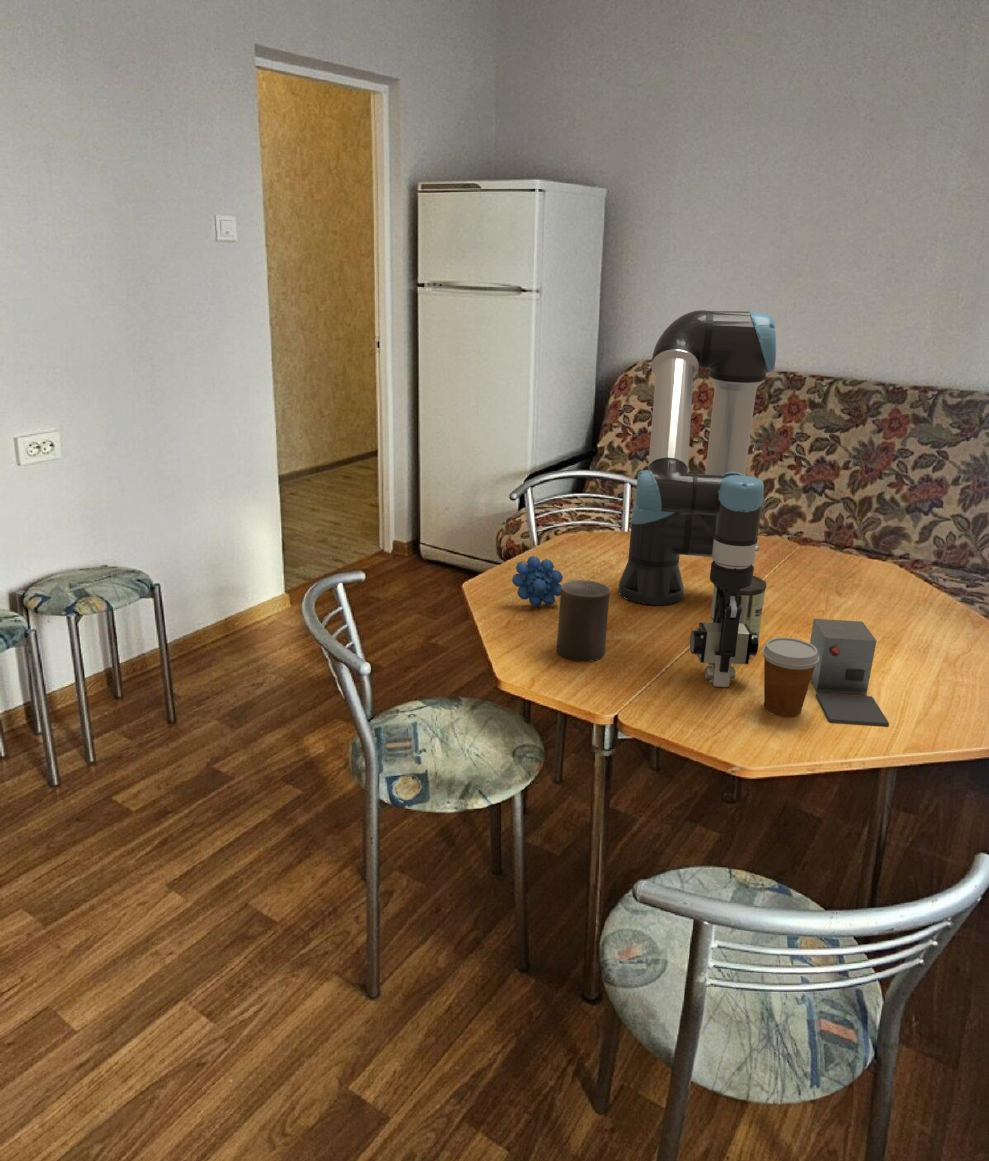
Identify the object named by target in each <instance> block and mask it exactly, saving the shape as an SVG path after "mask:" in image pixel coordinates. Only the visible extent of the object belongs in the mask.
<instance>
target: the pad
mask: <svg viewBox="0 0 989 1161" xmlns="http://www.w3.org/2000/svg"><path fill="white" fill-rule="evenodd" d="M815 697H816V699H817V701H818V703H819V706H820V707H821V709H822V711H823V713H824V715H825V718H827V721H828V723H835V724H848V725H849V724H851V725H863V726H864V725H865V726H867V725H868V726H880V727H889V725H890V722H889V721H888V719H887V717H886V716H885V714H884V713H883V711H882V710H881V708H880V707H879V705H878V703H877V702H876V700H875V699H874V697H873V696H872V695H871V696H870V695H854V694H839V693H823V692H816V693H815Z"/></svg>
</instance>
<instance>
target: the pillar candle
mask: <svg viewBox="0 0 989 1161" xmlns="http://www.w3.org/2000/svg"><path fill="white" fill-rule="evenodd" d="M610 591H611V589H610V587H609V586H607V585H606V584H603V583H600V582H598V581H592V580H584V579H581V580H576V579H575V580H570V581H566V582H564V583H562V584H561V595H560V596H559V611H558V625H557V626H558V627H557V635H556V636H557V639H556V651H557V654H559V656H561V657H562V658H565V659H567V660H571V661H574V662H575V661H576V662H581V661H586V662H592V661H591V660H594V661H596V659H598V660H600V659H602V658H603V657H604V656H605V652H606V641H607V630H608V617H609V607H610V606H609V604H610V594H611V592H610ZM603 655H604V656H603ZM602 656H603V657H602ZM601 657H602V658H601Z"/></svg>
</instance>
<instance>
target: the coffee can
mask: <svg viewBox="0 0 989 1161" xmlns="http://www.w3.org/2000/svg"><path fill="white" fill-rule="evenodd" d="M766 589H767V581H765V580H764V579H763V578H761V577H758V576H755V575H753V579H752V584H751V585H750V586H749V587H747V588H742V589H740V590H739V595H740V596H741V605H740V606H739V607H741V609H742V612H741V615H740V619H739V624H747V626H748V627H749V629H750V630H751V632H755V633H756V634H757V636H758V642H759V640H760V632H761V624H762V617H763V609H764V601H765V593H766ZM716 592H717V587H716V585H715V584H713V591H712V598H711V600H712V601H711V610H710V617H709V618H710V619H709V623H713V618H714V610H715V602H716Z"/></svg>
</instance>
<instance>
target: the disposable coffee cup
mask: <svg viewBox="0 0 989 1161" xmlns="http://www.w3.org/2000/svg"><path fill="white" fill-rule="evenodd" d="M761 653H762V656H763V660H764V663H763V664H764V665H763V666H764V670H763V672H764V673H763V674H764V676H763V677H764V681H763V682H764V685H763V686H764V688H763V690H764V691H763V692H764V694H763V696H764V697H763V698H764V700H763V703H764V705H763V706H764V709H765V710H766V711H767V712H768V713H770V714H773V716H778V717H783V718H794V717H797V716H800V715H801V713H802V710H803V705H804V703H805V700H806V697H807V694H808V690H809V686H810V684H811V678H812V674H813V671H814V668H815V666H816V665H817V663H818V662H819V659H820V658H819V655H818V651H817V648H816V647H815V646H813V645H812V644H810V642H808V641H806V640H802V639H799V638H794V637H793V638H792V637H774V638H770V639H769V640H767V641H766V643H765V644H764V647H763V648H762V651H761Z"/></svg>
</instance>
